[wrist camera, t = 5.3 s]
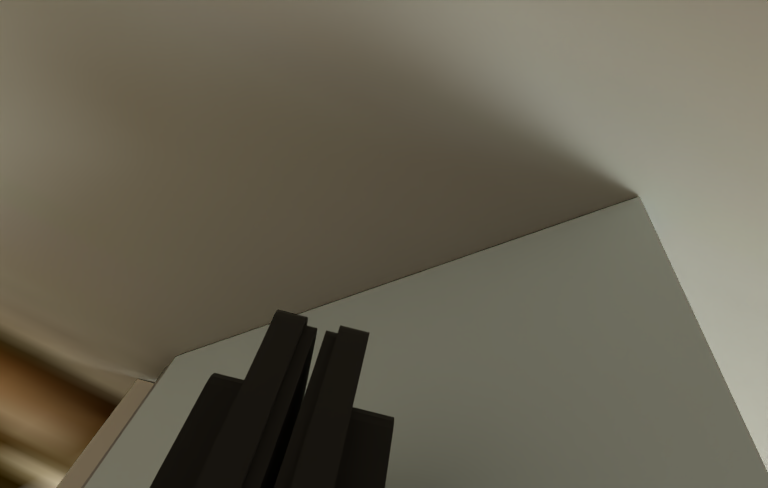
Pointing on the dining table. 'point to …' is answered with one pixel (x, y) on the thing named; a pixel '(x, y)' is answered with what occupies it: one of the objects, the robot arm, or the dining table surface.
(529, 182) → the dining table surface
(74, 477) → the hinge post
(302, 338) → the robot arm
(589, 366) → the door
